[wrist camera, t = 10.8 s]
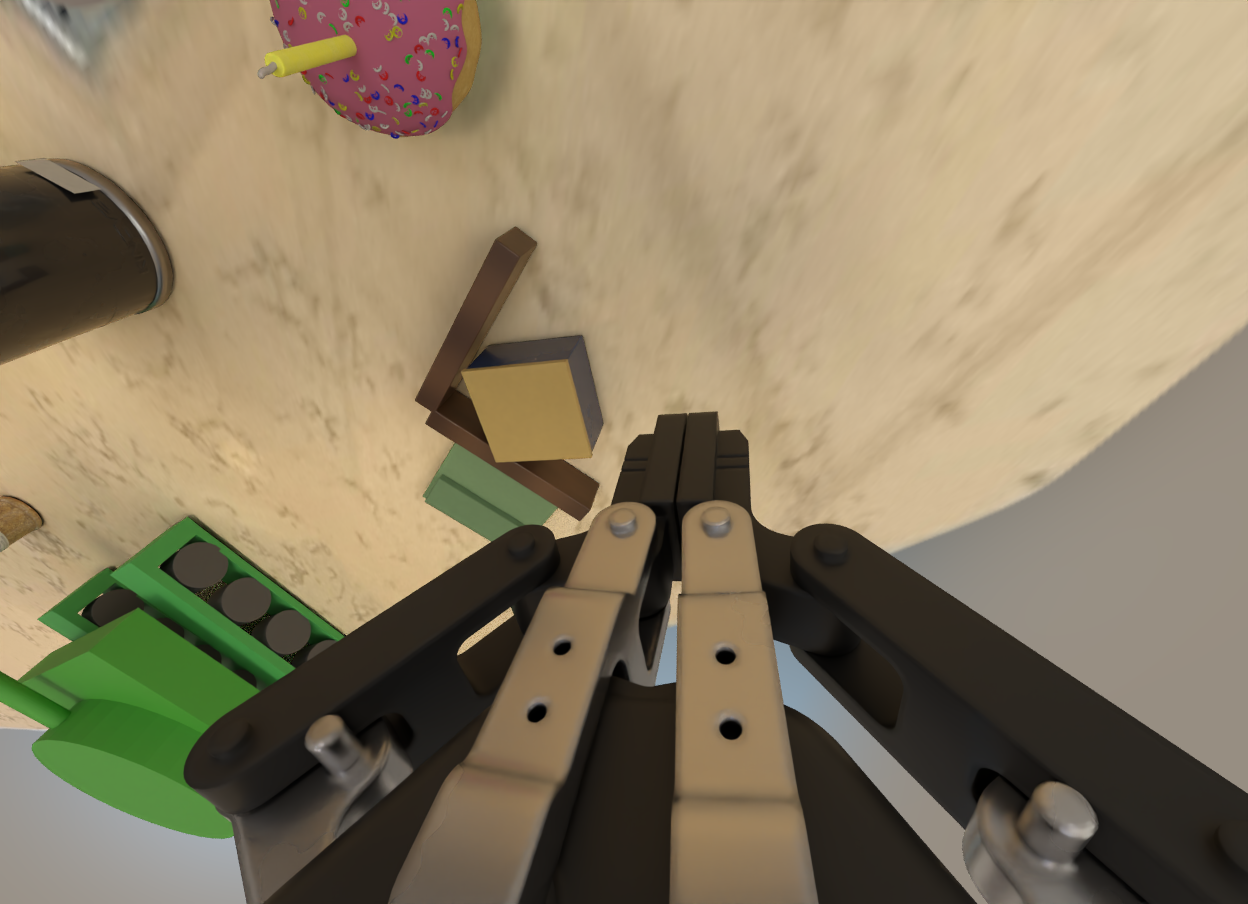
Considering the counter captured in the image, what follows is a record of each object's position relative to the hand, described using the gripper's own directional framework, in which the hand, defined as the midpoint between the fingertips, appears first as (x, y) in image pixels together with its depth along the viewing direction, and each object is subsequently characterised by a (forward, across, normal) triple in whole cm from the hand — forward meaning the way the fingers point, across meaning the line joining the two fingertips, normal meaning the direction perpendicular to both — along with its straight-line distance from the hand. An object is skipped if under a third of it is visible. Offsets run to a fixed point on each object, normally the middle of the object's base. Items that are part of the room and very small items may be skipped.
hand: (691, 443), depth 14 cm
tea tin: (+18, +11, +7) cm, 23 cm away
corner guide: (+18, +14, +7) cm, 24 cm away
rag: (+19, +19, +16) cm, 31 cm away
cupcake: (+19, +12, -12) cm, 26 cm away
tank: (+19, +57, +34) cm, 69 cm away
